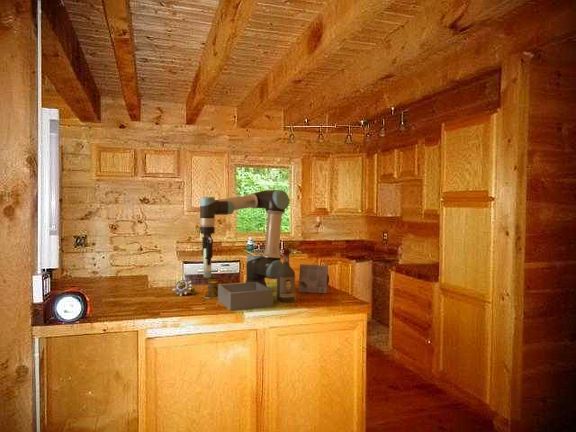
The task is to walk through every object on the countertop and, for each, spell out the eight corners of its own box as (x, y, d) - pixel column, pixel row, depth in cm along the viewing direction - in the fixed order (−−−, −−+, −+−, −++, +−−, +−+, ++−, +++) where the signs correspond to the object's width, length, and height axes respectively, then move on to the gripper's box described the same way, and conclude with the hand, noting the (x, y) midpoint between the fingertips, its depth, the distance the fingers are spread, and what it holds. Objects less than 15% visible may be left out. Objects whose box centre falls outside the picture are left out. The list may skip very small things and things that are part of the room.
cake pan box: (328, 292, 253) (329, 264, 253) (328, 293, 248) (329, 265, 248) (299, 290, 255) (299, 263, 255) (298, 292, 250) (298, 264, 250)
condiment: (220, 297, 236) (220, 277, 235) (206, 298, 231) (207, 278, 231) (215, 294, 242) (215, 275, 241) (202, 296, 237) (202, 276, 237)
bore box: (217, 300, 227) (218, 284, 227) (256, 296, 237) (257, 281, 237) (230, 310, 205) (230, 293, 205) (272, 306, 216) (273, 289, 215)
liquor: (275, 299, 231) (276, 248, 231) (290, 298, 235) (290, 248, 234) (280, 303, 223) (281, 250, 222) (295, 301, 226) (296, 249, 225)
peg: (202, 276, 211) (202, 248, 210) (210, 275, 212) (210, 248, 212) (204, 277, 207) (204, 249, 206) (212, 277, 209) (212, 249, 208)
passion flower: (181, 305, 237) (168, 289, 234) (184, 297, 247) (173, 282, 245) (196, 295, 236) (184, 279, 233) (199, 287, 246) (187, 272, 244)
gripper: (196, 225, 215) (196, 268, 216) (204, 227, 199) (204, 273, 200) (210, 225, 218) (210, 267, 219) (218, 227, 203) (218, 272, 203)
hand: (207, 270), depth 209 cm, fingers closed on peg, 4 cm apart
